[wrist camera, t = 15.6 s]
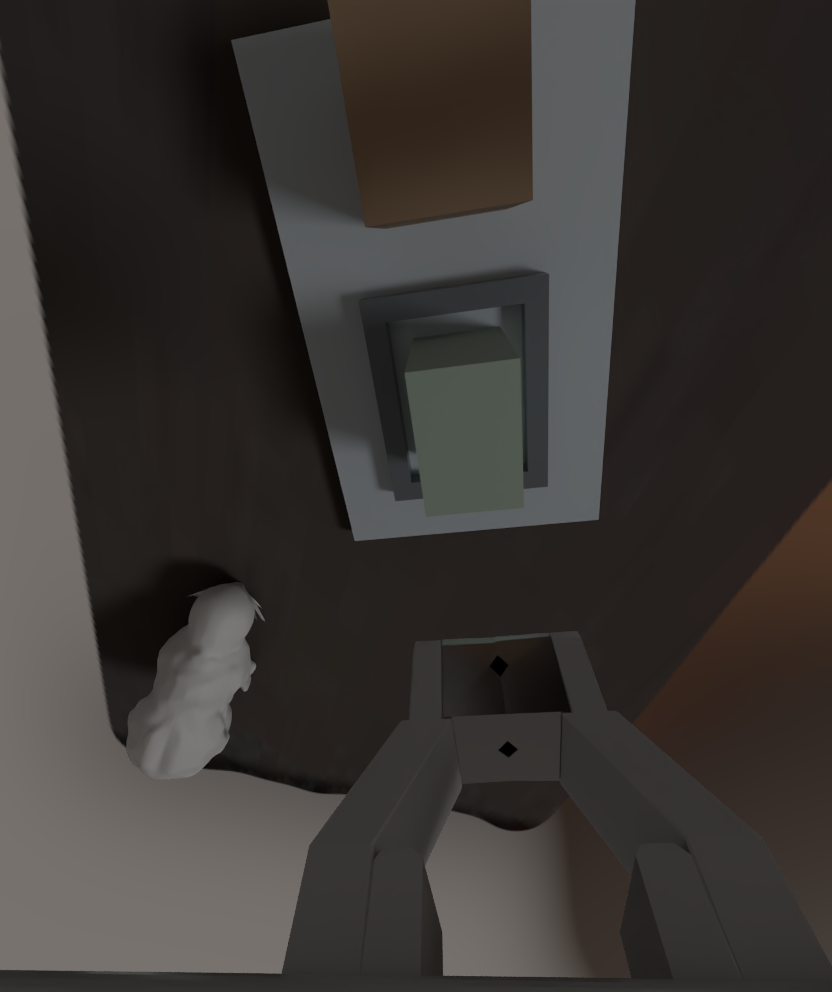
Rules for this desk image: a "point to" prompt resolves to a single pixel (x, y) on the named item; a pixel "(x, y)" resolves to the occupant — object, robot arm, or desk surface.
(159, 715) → the white animal figurine
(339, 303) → the board
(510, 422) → the sage block
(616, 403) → the desk surface
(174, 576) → the desk surface
